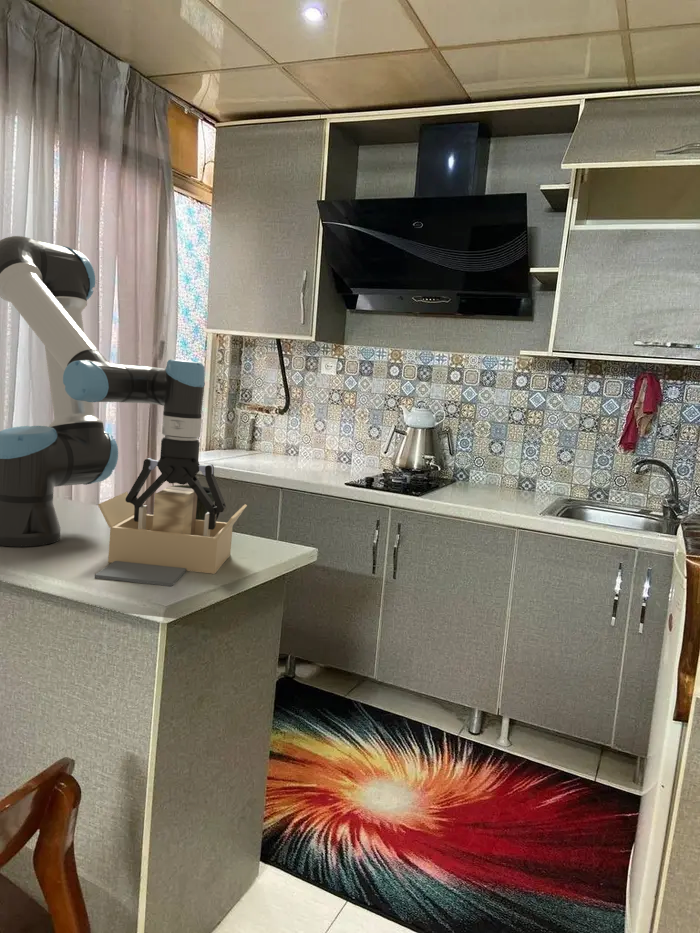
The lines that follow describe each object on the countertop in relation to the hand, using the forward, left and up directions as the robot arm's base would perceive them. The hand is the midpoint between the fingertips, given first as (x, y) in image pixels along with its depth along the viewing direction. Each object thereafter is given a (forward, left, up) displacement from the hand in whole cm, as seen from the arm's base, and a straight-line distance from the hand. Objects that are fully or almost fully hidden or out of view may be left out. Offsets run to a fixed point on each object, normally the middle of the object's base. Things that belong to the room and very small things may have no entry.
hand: (173, 541), depth 145 cm
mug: (0, +17, -4) cm, 17 cm away
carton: (0, 0, -4) cm, 4 cm away
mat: (-2, -13, -4) cm, 14 cm away
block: (0, 0, -4) cm, 4 cm away
